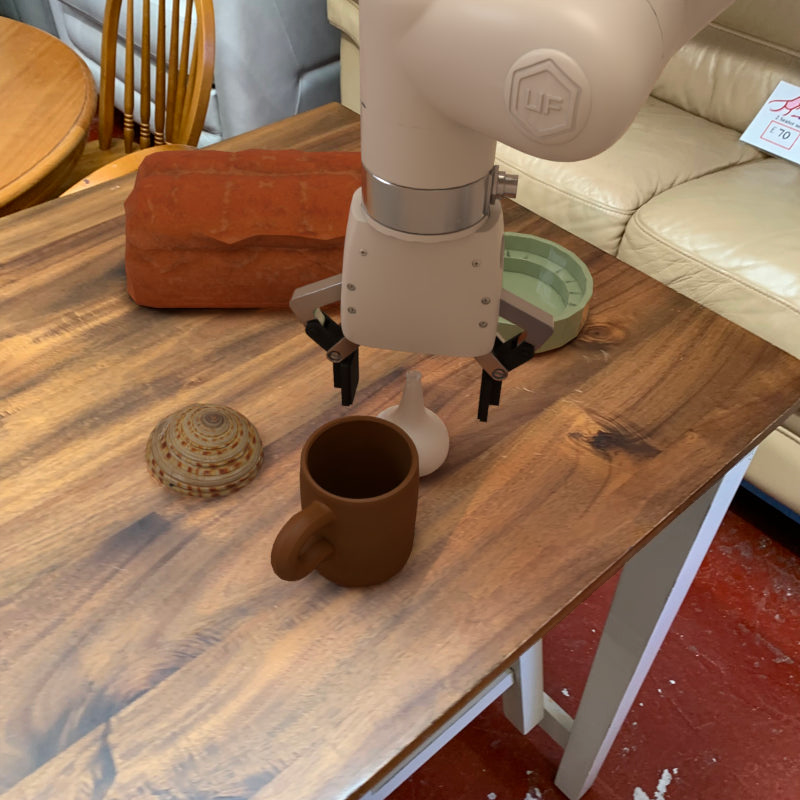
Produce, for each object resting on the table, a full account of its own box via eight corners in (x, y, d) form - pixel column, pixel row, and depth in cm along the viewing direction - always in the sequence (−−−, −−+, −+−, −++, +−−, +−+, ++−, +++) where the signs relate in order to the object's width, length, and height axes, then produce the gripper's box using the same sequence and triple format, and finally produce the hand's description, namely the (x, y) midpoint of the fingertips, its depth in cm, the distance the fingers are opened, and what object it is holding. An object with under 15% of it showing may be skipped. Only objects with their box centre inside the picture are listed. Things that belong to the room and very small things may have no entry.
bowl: (562, 261, 84) (569, 229, 81) (603, 354, 74) (613, 320, 71) (423, 267, 82) (425, 234, 79) (446, 362, 72) (449, 328, 69)
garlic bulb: (363, 484, 62) (363, 408, 56) (368, 424, 66) (369, 348, 61) (447, 489, 62) (456, 413, 56) (447, 428, 66) (455, 352, 61)
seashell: (182, 382, 66) (256, 384, 61) (212, 437, 69) (286, 443, 64) (111, 449, 60) (188, 457, 56) (147, 505, 63) (223, 517, 59)
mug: (330, 664, 51) (326, 578, 45) (238, 602, 54) (222, 512, 48) (434, 536, 59) (444, 446, 52) (348, 487, 61) (347, 396, 55)
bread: (147, 224, 85) (127, 127, 78) (405, 224, 87) (410, 129, 80) (120, 319, 74) (94, 216, 67) (416, 316, 76) (423, 216, 69)
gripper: (576, 168, 50) (538, 379, 62) (294, 143, 51) (310, 354, 63) (578, 235, 44) (536, 453, 56) (263, 206, 46) (286, 423, 58)
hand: (416, 400), depth 60 cm, fingers open, 9 cm apart
